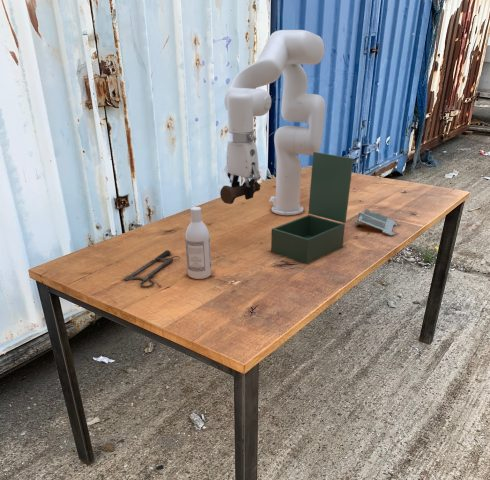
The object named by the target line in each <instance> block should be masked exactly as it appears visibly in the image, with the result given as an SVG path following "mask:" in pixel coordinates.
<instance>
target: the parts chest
mask: <svg viewBox="0 0 490 480" xmlns="http://www.w3.org/2000/svg"><path fill="white" fill-rule="evenodd" d="M345 224H346V223H342V222H338V221H335V220H331V219H327V218H323V217H319V216H316V215H312V214H307V215H304V216H302V217H299V218H296V219H294V220H292V221H289V222H286V223H283V224H280V225H277V226H275V227H272V228H271V233H270V234H271V237H270V238H271V242H270V243H271V244H270V252H271V253H272V254H276V255H279V256H282V257H285V258H288V259H291V260H294V261H297V262H300V263H302V264H304V265H305V264H306V265H308V264H310V263H313V262H314V261H316V260H318V259H320V258H323V257H325V256H327V255H330V254H331V253H333V252H336V251H338V250H340V249H342V248H343V246H344V237H345V227H346V226H345Z"/></svg>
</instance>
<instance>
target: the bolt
mask: <svg viewBox="0 0 490 480" xmlns="http://www.w3.org/2000/svg"><path fill="white" fill-rule="evenodd" d="M245 187H247V186H246V183H245V181H243V183H242V184H240V186H237V187H234V188H233V187H231V185H230V186H229V185H223V186H222V187H221V189H220V192H219V197H220V199H221V201H222V203H224V204H227V205H232V204H234V202H235V199H237V198H240V197H244V196H245ZM259 191H261V183H259V182H258V181H257V182H256V183H255V185H254V186H253V195H254V194H255V193H256V192H259Z"/></svg>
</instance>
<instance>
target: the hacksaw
mask: <svg viewBox="0 0 490 480" xmlns="http://www.w3.org/2000/svg"><path fill="white" fill-rule="evenodd" d="M171 254H172V251H170V250H168V249H166V250H164V251H163V252H162V253H160V254H159V255H157V256H156V257H154V259H152V260H150V261H149V262H147V263H146V264H144V265H143V266H140V268H138V269H137V270H135V271H134V272H132V273H131V274H129V275H127V276H125V278H124V280H125V281H129V280H141V283H140V287H142V288H150V287H152V286H154V284H155V282H154V281H153V280H151V279H152V278H153V277H154V276H155V274H156V273H158V271H160V270H161V269H163V268H165V266H168V265H169V264H170V263H171V262H173V260H174V258H177V259H176V261H178V260H180V259H181V257H180V256H178V255H174V256H171V257H168V256H170V255H171ZM165 257H166V258H165ZM158 261H160V262H161V261H163V263H162V264H160V265H159V266H158V267H156V268H155V269H153V270H152V271H151V272H150V273H149V274H148V275H146V276H145V277H141V276H140V277H139V276H138V277H137V276H136V275H137V274H139V273H141V272H142V271H143V270H145V269H146V268H148V267H149V266H151V265H152V264H154V263H155V262H158ZM147 281H149V282H150V283H151V284H149V285H143V284H144V283H146V282H147Z"/></svg>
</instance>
